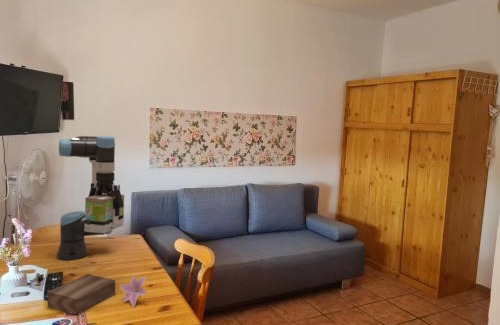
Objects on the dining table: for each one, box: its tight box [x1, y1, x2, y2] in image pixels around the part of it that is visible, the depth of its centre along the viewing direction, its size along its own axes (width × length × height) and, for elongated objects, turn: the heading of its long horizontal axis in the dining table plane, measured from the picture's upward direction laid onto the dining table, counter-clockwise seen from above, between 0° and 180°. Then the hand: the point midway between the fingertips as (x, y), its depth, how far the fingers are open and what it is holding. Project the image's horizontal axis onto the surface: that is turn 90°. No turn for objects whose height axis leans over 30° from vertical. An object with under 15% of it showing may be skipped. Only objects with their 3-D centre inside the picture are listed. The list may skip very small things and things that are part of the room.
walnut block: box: [47, 273, 116, 315], centre depth 148 cm, size 15×20×6 cm
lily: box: [119, 275, 147, 308], centre depth 150 cm, size 12×12×10 cm
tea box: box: [84, 193, 125, 233], centre depth 162 cm, size 15×10×15 cm
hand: (104, 222), depth 162 cm, fingers closed on tea box, 11 cm apart
